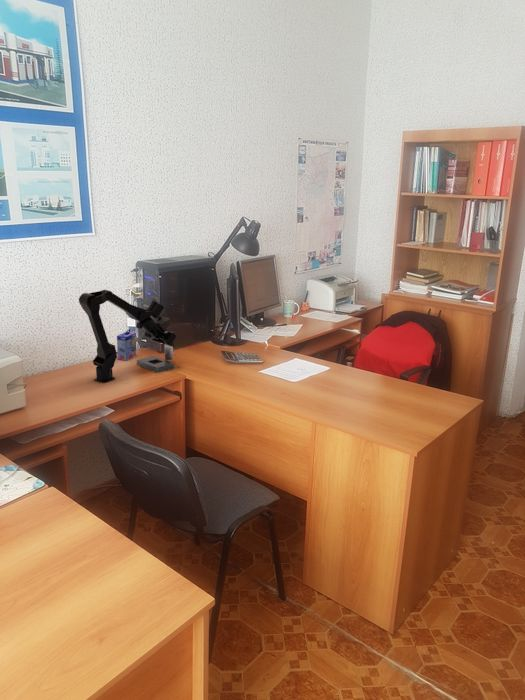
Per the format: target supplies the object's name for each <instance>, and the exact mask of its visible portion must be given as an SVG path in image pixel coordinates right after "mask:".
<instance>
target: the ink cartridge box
mask: <svg viewBox="0 0 525 700" xmlns="http://www.w3.org/2000/svg"><path fill="white" fill-rule="evenodd" d="M116 347H117V348H116V352H117V353H118V354H117V360H120V361H121V360H122V361H128V359H129V360H130V359H132V358H134V357H136V356H137V332H133V331H131V328H129V329H127V330H126V331H125V332H123V333H120V334H118V335H117V336H116ZM135 355H136V356H135ZM133 356H134V357H133Z"/></svg>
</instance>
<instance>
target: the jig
mask: <svg viewBox="0 0 525 700" xmlns="http://www.w3.org/2000/svg"><path fill="white" fill-rule="evenodd" d="M138 365H139V366H138ZM136 366H138V367H141V366H142V367H141V368H143V367H144V368H143V369H146V368H147V369H146V370H148V369H149V370H148V371H151V370H152V371H151V372H153V371H154V373H156V374H157V372H158V373H163V372H165V371H169V370H172V369H173V370H174V369H175V363H174V362H172V361H170V360H165V358H162V357H158V356H156V355H151V356H146V357H143V358H139V359H136Z"/></svg>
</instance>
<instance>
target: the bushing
mask: <svg viewBox="0 0 525 700" xmlns="http://www.w3.org/2000/svg"><path fill="white" fill-rule="evenodd" d="M166 332H167V331H165V332H164V333H166ZM163 345H164V347H163V348H164V349H163V351H164V360H167V361H171V360H173V359H174V347H172V346H169V345H166V344H163Z"/></svg>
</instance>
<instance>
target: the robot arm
mask: <svg viewBox="0 0 525 700" xmlns="http://www.w3.org/2000/svg"><path fill="white" fill-rule="evenodd" d="M106 302H109V303H110V304H112V305H114V306H116V307H117V308H119V309H120V310H122V311H123V312H125V314H126V315H127V316H128V318H130V319H132V320H135V321H136V326H135V327H136V329H139V330H141V329H144V330H145V333H144V337H145V338H147V339H148V340H152V341H154V342H158V343H159V344H163V345H164V344H166V345H169V346H172V347H173V348H174V347H175V344H174V342H175V340H176V338H177V337H178V336H177V333H176V332H174V331H171V330H169V331H167V328H168V327H170V326H171V325H172V324H173V323H172V322H171V321H172V320H171V319H170V317H167V316H161V315H162V314H163V312H164V311H165V309H166V308H165V306H163V305H162V304H160V303H158V302H157V301H156V300H152V302H151V303H150V305H149V306H148V308H147V309H146V308H141V307H139V306H136V305H133V304H131V303H129V302H127V301H126V300H125V299H123V298H121V297H120V296H118V295H117V294H115V293H113V292H112V291H111V290H108V289H102V290H99V291H94V292H89V293H88V292H83V293H81V295H80V296H79V298H78V303H79V305H80V306H81V308H82V310H83V311H84V313H85V314H86V315H87V317H88V320H89V324H90V326H91V329H92V331H93V334H94V338H95V341H96V344H97V346H96V356H95V357H94V358H93V361H92V363H93V365H94V366H95V371H96V373H95V374H96V378H94V381H96V382H101V383H108V382H110V381H113V380H115V379H116V377H114V376H113V368H114V367H115V362H116V360H117V359H118V353H117V348H116V345H115V344H112V343H110V342H109V340H108V336H107V333H106V330H105V327H104V324H103V321H102V318H101V315H100V311H101V310H100V309H101V305H103V304H104V303H106ZM137 321H138V322H137ZM164 332H166V333H164Z"/></svg>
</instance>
